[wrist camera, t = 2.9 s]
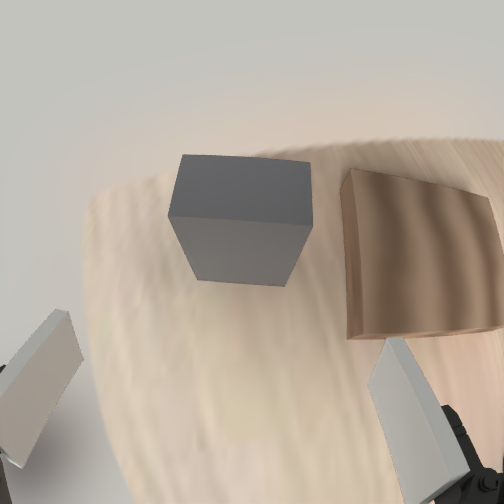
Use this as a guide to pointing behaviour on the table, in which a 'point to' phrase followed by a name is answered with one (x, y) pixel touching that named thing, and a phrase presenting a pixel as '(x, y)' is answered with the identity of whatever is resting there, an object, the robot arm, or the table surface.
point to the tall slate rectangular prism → (242, 217)
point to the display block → (419, 259)
